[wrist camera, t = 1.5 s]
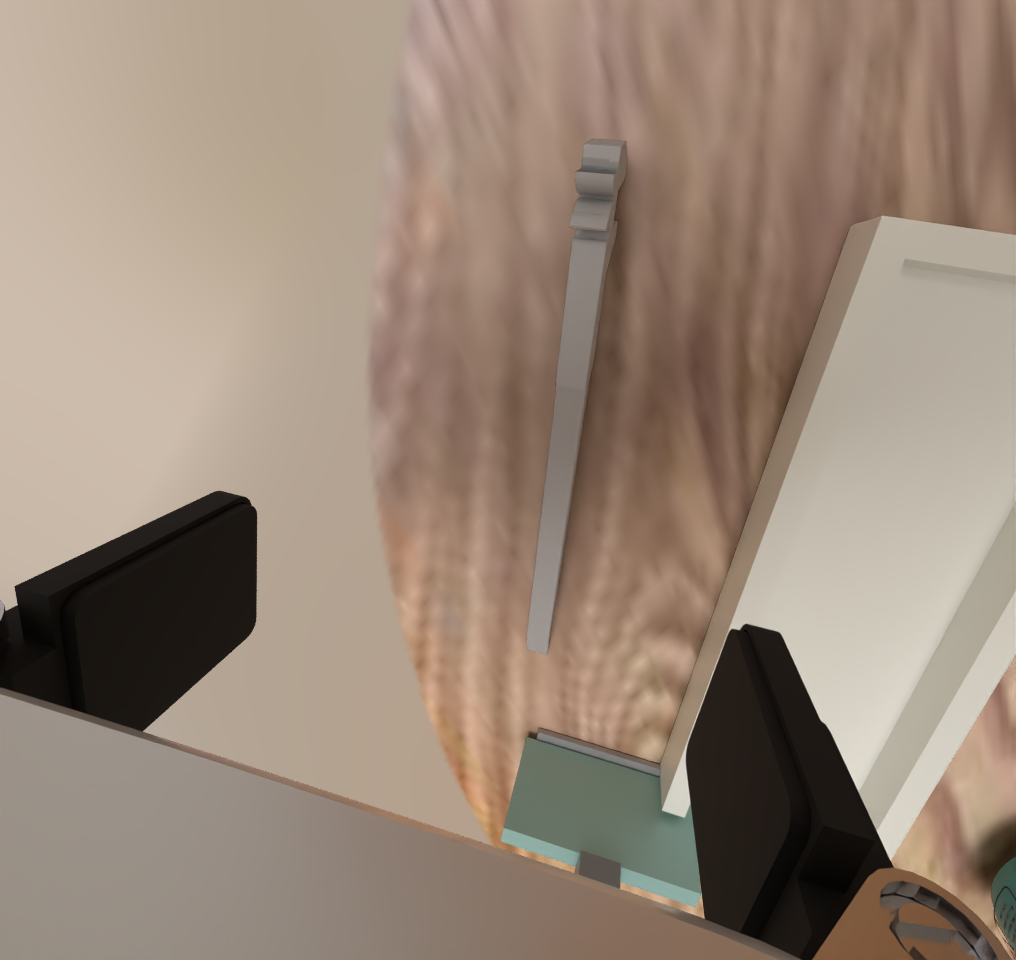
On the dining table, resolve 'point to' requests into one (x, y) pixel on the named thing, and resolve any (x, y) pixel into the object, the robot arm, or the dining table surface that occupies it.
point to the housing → (884, 517)
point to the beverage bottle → (1006, 901)
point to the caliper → (575, 366)
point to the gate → (601, 822)
